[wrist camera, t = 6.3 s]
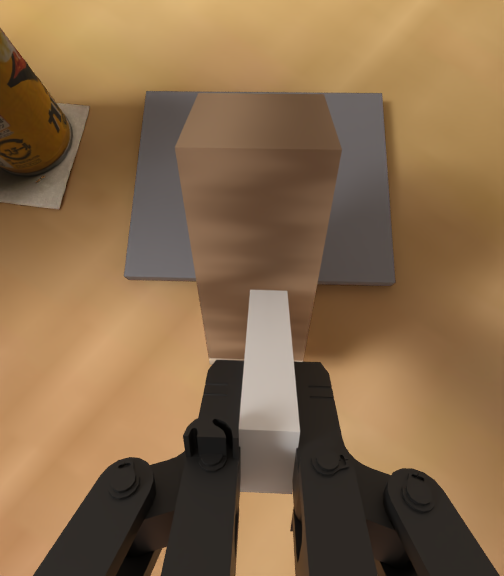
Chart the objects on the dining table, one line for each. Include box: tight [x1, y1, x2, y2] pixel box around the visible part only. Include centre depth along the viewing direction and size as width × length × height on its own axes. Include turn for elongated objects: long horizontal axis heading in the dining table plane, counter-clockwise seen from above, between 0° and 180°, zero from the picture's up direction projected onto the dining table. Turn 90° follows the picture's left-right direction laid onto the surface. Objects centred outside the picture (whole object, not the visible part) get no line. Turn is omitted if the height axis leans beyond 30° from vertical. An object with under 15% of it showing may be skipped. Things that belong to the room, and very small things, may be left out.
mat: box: [124, 91, 395, 286], centre depth 24 cm, size 17×14×1 cm
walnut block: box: [175, 93, 342, 364], centre depth 17 cm, size 5×5×12 cm
